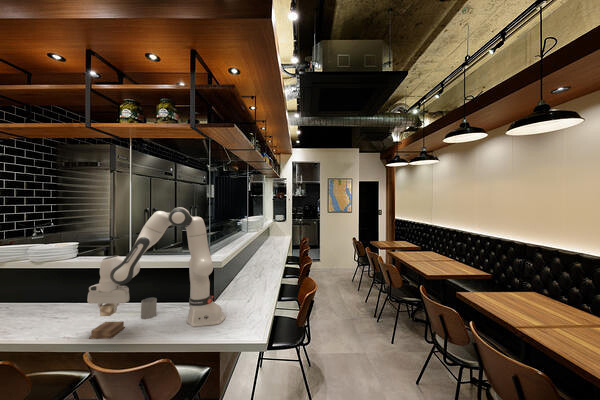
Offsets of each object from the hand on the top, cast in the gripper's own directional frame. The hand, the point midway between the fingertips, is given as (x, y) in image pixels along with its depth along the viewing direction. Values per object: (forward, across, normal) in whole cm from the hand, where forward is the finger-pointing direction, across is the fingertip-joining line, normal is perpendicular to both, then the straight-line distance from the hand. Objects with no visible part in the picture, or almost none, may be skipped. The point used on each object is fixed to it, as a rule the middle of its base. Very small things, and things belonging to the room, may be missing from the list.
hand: (108, 311), depth 133 cm
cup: (+12, -10, -21) cm, 26 cm away
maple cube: (+2, 0, 0) cm, 2 cm away
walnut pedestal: (+12, 0, 0) cm, 12 cm away
